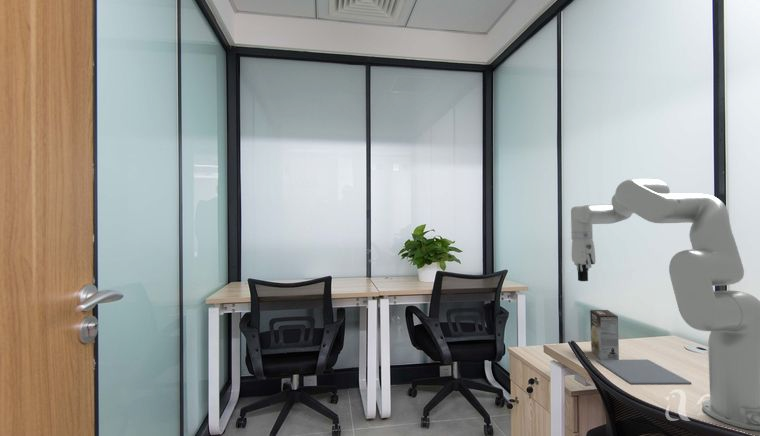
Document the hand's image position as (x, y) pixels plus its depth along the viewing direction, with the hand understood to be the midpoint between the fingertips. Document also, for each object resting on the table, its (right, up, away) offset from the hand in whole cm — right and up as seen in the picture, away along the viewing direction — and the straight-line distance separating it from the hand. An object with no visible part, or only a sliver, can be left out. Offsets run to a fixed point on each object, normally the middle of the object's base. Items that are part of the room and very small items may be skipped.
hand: (582, 280), depth 143 cm
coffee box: (0, -26, -14) cm, 29 cm away
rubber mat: (+3, -25, -28) cm, 37 cm away
